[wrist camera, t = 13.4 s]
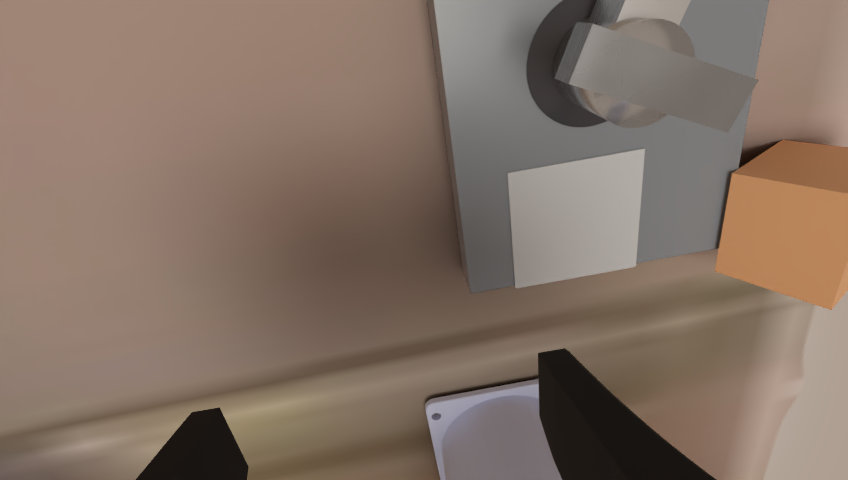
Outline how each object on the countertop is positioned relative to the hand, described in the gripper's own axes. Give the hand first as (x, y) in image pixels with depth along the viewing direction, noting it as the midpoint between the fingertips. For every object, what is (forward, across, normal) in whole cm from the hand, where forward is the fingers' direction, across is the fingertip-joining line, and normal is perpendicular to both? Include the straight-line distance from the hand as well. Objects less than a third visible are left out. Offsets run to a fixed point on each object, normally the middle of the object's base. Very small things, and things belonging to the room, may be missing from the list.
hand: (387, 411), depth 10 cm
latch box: (+10, -9, -4) cm, 14 cm away
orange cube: (+9, -16, +2) cm, 18 cm away
